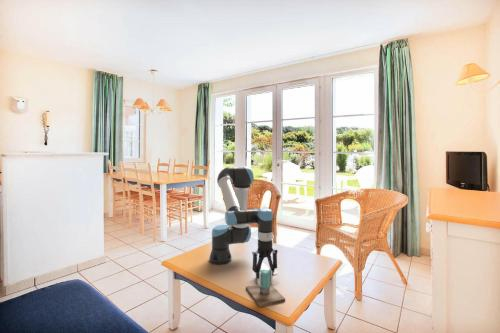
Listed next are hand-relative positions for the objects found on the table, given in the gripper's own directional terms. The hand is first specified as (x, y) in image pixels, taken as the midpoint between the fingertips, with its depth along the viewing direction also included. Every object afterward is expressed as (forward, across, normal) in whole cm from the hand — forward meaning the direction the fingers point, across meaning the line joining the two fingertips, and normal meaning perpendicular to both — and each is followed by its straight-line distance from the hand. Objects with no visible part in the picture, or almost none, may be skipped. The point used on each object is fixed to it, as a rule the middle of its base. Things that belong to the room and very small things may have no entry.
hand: (264, 283), depth 131 cm
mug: (+6, +8, +14) cm, 17 cm away
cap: (+1, 0, 0) cm, 1 cm away
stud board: (+6, 0, 0) cm, 6 cm away
